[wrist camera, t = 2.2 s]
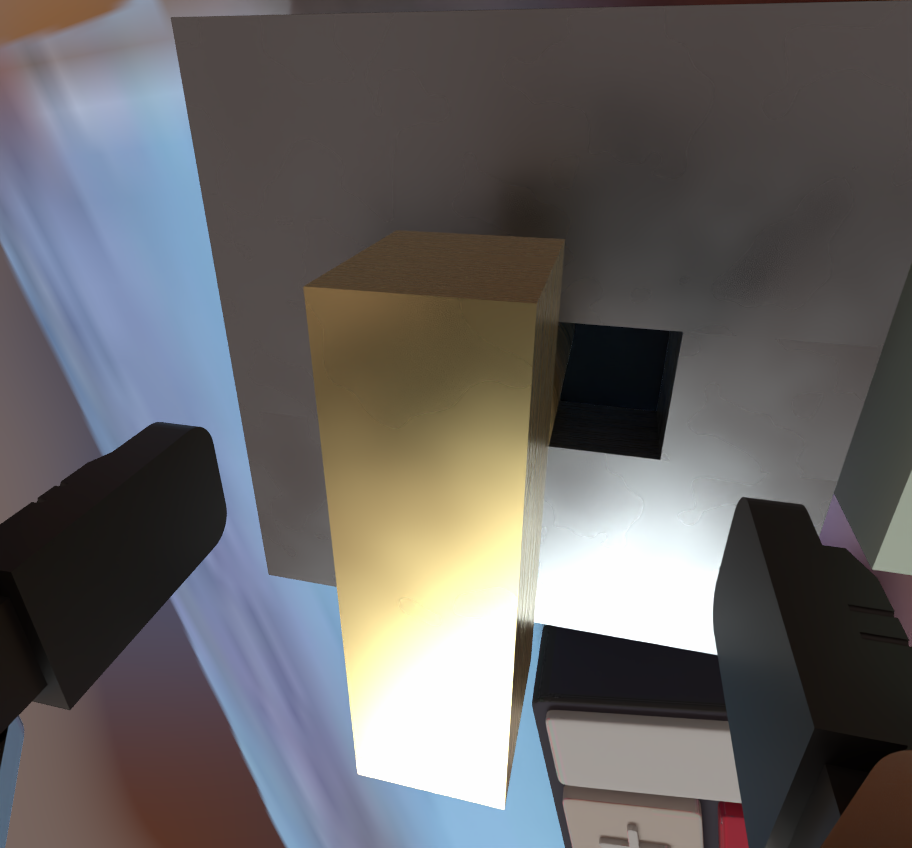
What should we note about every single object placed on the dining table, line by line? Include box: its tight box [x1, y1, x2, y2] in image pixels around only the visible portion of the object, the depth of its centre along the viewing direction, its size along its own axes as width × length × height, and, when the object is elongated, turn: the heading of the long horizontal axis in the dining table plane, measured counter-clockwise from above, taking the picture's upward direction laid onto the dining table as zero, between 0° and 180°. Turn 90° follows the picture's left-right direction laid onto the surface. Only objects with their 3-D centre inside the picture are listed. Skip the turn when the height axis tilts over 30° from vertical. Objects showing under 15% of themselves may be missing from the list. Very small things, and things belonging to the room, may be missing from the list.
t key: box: [303, 230, 575, 809], centre depth 13 cm, size 8×2×12 cm, turn 0°
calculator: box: [532, 625, 749, 848], centre depth 24 cm, size 11×4×15 cm
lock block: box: [171, 0, 912, 655], centre depth 16 cm, size 14×14×5 cm
